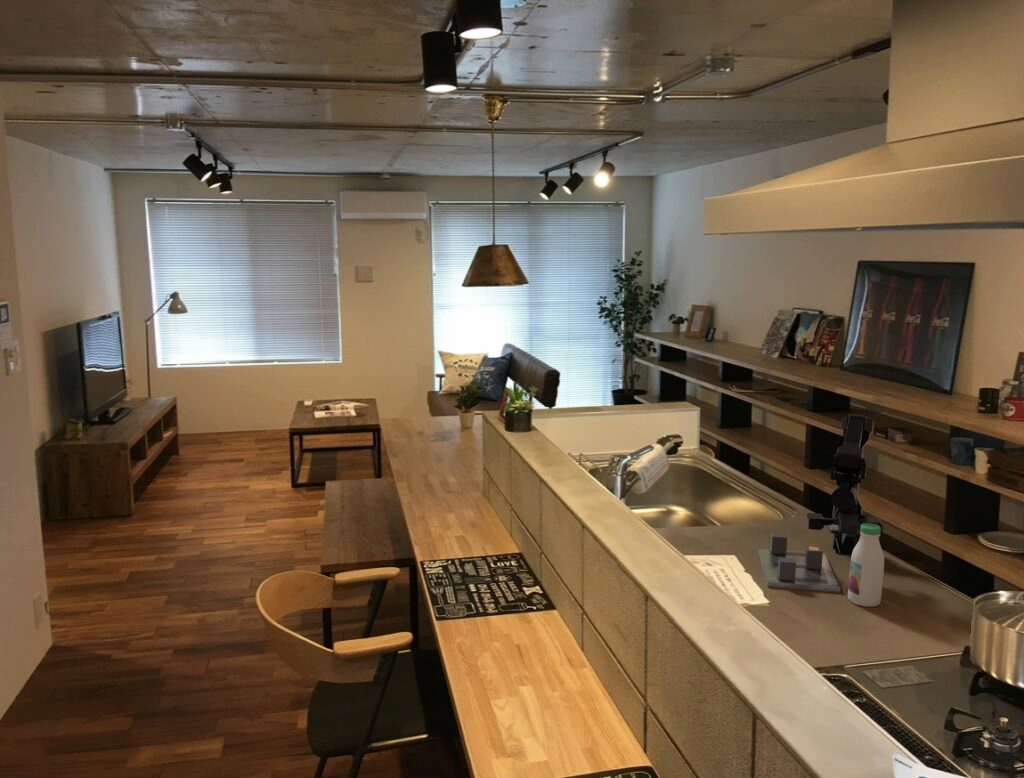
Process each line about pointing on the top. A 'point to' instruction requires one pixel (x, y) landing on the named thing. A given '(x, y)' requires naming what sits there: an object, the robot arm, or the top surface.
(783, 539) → the block
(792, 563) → the block
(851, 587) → the milk bottle
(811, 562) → the breaker mid
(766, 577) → the panel
